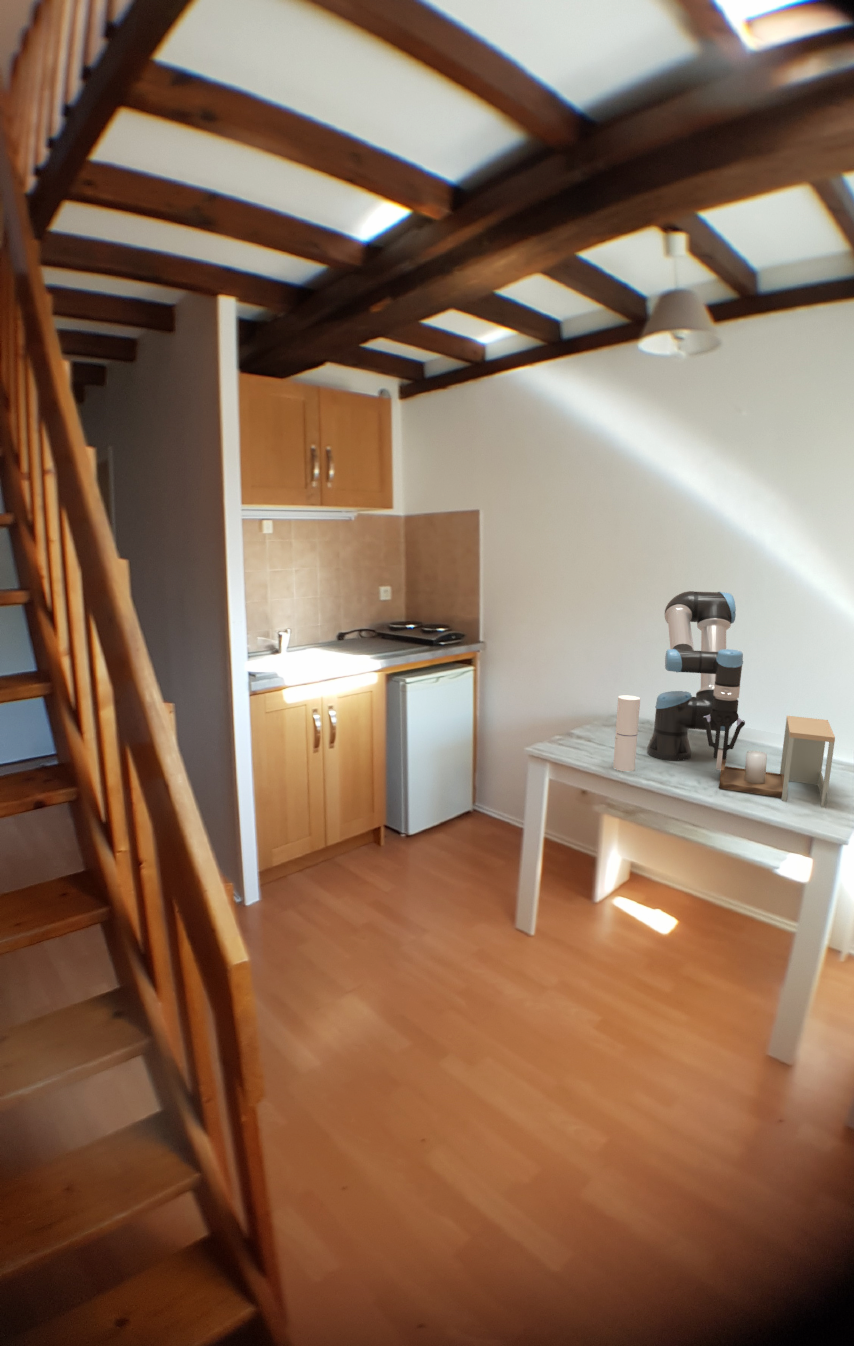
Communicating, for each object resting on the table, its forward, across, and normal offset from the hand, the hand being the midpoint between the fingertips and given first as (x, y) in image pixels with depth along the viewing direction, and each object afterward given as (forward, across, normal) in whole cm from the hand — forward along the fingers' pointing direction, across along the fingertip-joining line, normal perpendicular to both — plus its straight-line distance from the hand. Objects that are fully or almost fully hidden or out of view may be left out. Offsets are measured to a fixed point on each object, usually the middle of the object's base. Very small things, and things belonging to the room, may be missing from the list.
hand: (718, 768), depth 221 cm
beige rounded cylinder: (+2, +11, 0) cm, 11 cm away
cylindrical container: (+4, -30, -3) cm, 30 cm away
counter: (+4, +24, +1) cm, 25 cm away
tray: (+4, +10, 0) cm, 11 cm away
